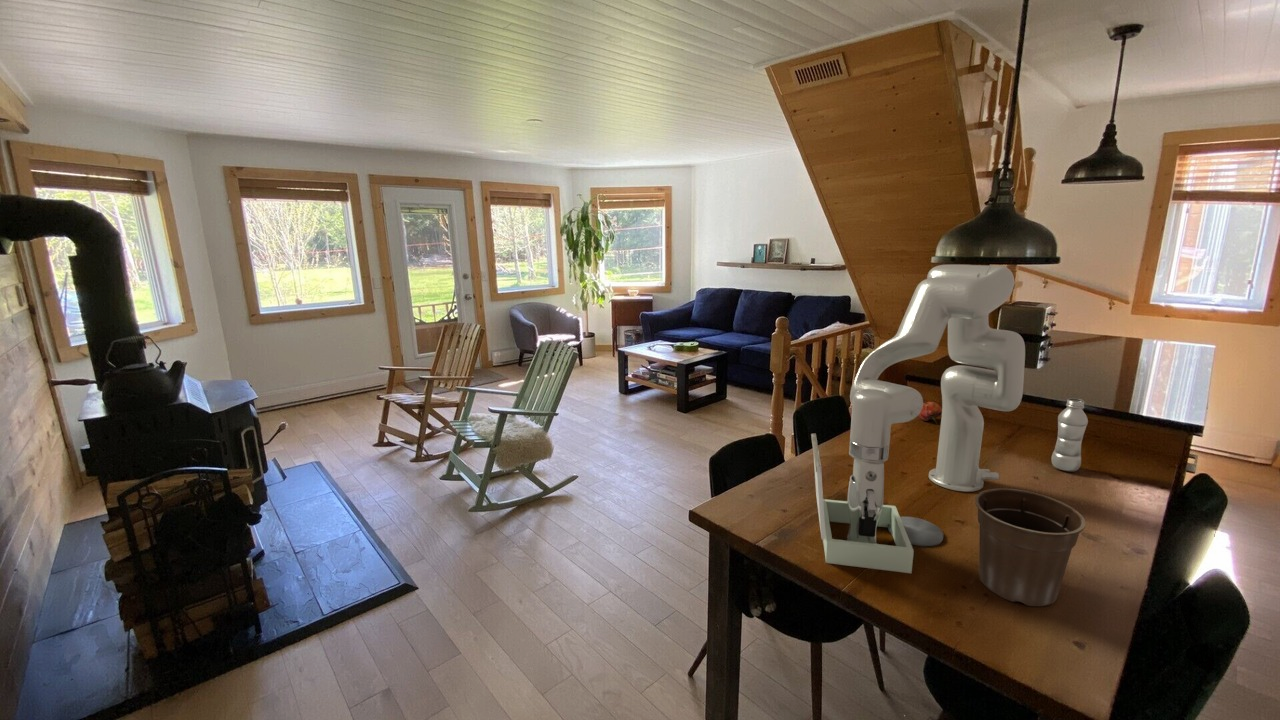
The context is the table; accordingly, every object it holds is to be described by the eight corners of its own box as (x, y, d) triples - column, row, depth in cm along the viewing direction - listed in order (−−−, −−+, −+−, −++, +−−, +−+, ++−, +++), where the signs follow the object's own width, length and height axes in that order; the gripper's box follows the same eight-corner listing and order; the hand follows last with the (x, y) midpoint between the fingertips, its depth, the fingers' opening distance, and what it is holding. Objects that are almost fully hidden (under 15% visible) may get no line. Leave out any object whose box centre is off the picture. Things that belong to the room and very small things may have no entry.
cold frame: (893, 525, 122) (895, 505, 120) (911, 573, 105) (913, 550, 103) (820, 518, 126) (821, 499, 124) (825, 562, 109) (827, 541, 108)
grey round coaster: (935, 522, 122) (935, 519, 122) (949, 549, 112) (949, 545, 112) (883, 517, 125) (884, 514, 125) (892, 543, 115) (893, 539, 115)
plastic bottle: (1054, 472, 145) (1065, 402, 141) (1046, 462, 151) (1057, 395, 147) (1083, 475, 143) (1096, 405, 138) (1074, 465, 149) (1086, 397, 144)
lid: (815, 433, 121) (811, 433, 122) (821, 466, 104) (815, 466, 105) (820, 497, 124) (815, 497, 125) (825, 539, 108) (820, 539, 108)
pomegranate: (944, 428, 185) (931, 404, 192) (951, 417, 180) (938, 393, 186) (922, 431, 186) (910, 407, 192) (929, 420, 180) (917, 396, 186)
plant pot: (1034, 627, 90) (1048, 542, 86) (946, 574, 104) (955, 499, 100) (1091, 599, 96) (1106, 519, 92) (1000, 552, 110) (1011, 481, 107)
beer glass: (873, 535, 118) (878, 472, 115) (883, 553, 111) (889, 487, 108) (840, 534, 119) (844, 472, 115) (849, 552, 112) (854, 487, 109)
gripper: (896, 467, 101) (889, 548, 105) (881, 435, 117) (875, 505, 121) (854, 464, 103) (849, 543, 107) (845, 432, 119) (840, 502, 123)
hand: (863, 523), depth 114 cm, fingers open, 9 cm apart
